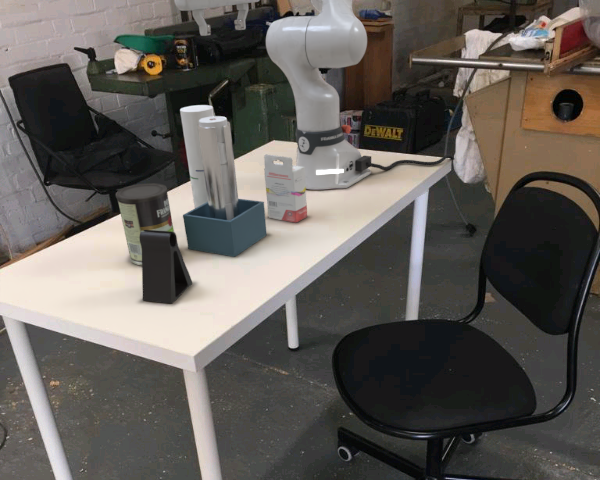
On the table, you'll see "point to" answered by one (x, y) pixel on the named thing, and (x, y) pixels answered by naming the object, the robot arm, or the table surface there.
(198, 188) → the cylindrical container
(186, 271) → the phone stand
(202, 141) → the silver tall cylinder
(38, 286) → the table surface
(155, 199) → the coffee can
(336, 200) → the table surface
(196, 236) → the case
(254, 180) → the table surface
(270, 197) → the ink cartridge box
